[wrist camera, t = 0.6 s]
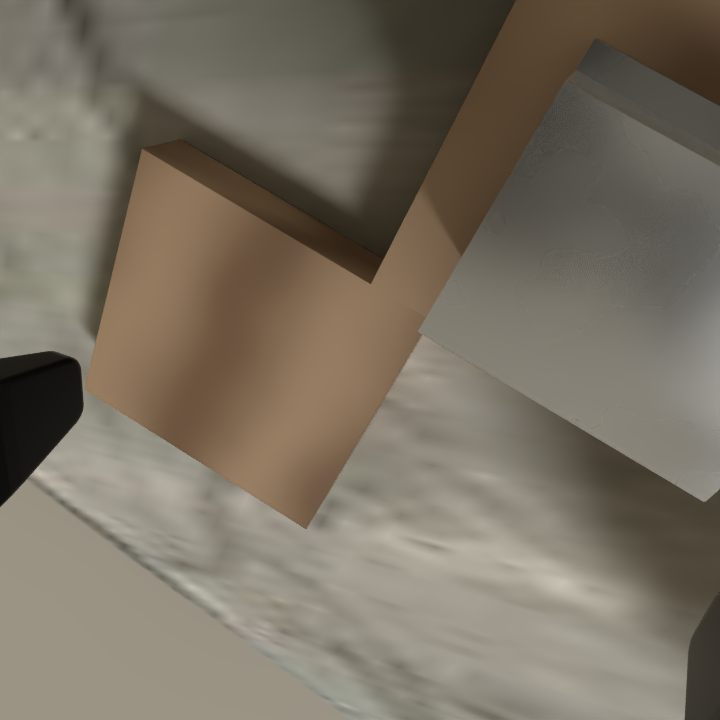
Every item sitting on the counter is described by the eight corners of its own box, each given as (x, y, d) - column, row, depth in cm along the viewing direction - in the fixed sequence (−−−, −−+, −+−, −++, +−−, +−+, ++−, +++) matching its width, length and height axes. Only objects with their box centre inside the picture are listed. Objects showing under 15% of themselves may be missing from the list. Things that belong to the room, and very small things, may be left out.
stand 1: (445, 295, 20) (430, 319, 18) (326, 496, 25) (306, 529, 24) (180, 139, 21) (142, 148, 19) (118, 366, 26) (84, 389, 25)
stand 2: (973, 119, 14) (1021, 130, 12) (672, 429, 20) (678, 466, 18) (575, -91, 15) (569, -107, 13) (390, 263, 20) (371, 284, 19)
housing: (845, 172, 14) (980, 252, 9) (661, 377, 17) (682, 522, 12) (597, 38, 14) (589, 40, 9) (464, 262, 17) (403, 355, 12)
